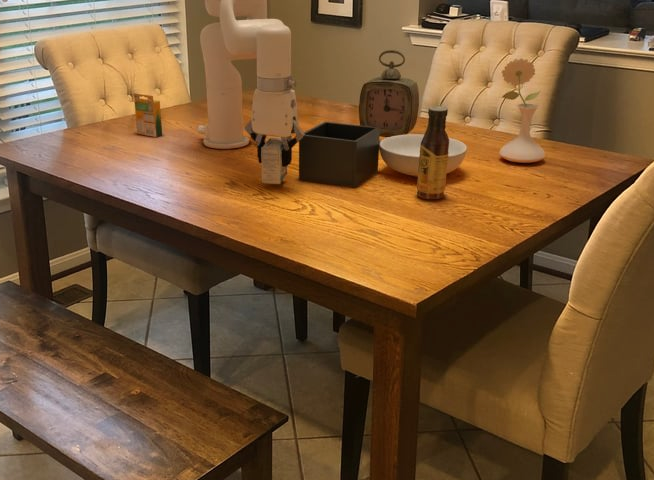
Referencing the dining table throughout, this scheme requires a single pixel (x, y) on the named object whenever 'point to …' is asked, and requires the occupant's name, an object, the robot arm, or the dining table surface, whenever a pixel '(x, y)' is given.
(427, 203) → the dining table surface
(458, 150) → the serving bowl
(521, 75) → the flower in vase
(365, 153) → the open-top storage bin
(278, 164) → the medicine box
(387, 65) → the tabletop clock
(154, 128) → the crayon box
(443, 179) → the sauce bottle
